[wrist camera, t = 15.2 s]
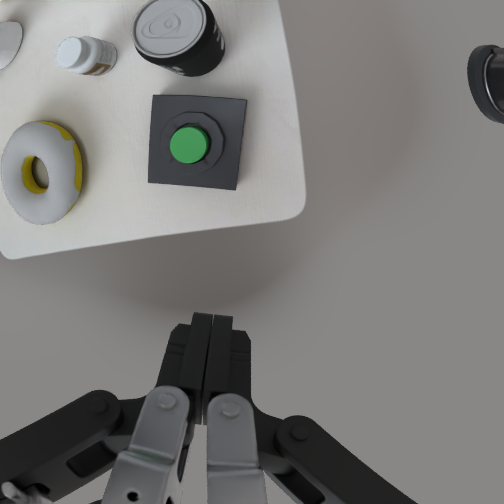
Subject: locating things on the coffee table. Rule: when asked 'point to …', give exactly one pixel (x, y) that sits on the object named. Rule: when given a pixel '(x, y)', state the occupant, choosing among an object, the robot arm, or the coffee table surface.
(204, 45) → the beverage can
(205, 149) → the button
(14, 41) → the cup
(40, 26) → the coffee table surface
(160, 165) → the button block
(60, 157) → the donut
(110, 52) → the pill bottle
